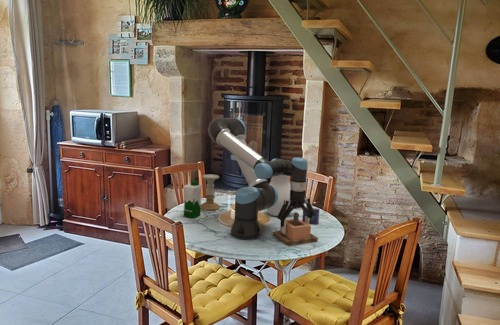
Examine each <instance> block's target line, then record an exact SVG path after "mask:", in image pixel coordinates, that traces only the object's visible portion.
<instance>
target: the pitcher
mask: <svg viewBox="0 0 500 325" xmlns="http://www.w3.org/2000/svg"><path fill="white" fill-rule="evenodd" d="M290 184H291V181H290V176H286V175H279V176H275V177H271V179H270V182H269V185H272V186H274V187H275V188H276V190H277V192H278V199H277V202H276V204H275V205H274V206H272V207H270V208H268V209H266V211H267V212H268V213H269V215H271V216H273V217H274V216H275V217H277V216H278V214H279V212H280V210H281V208H282V206H283V204H284V200H290V190H291V188H290ZM289 205H290V203H289ZM289 205H288V206H289ZM291 207H292V206H291ZM287 208H288V207H287ZM286 210H287V209H286Z"/></svg>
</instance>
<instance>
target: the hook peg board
mask: <svg viewBox="0 0 500 325" xmlns="http://www.w3.org/2000/svg"><path fill="white" fill-rule="evenodd" d="M299 217H300V213H299V212H293V218H292V219H293V225H294V226H298V219H300V218H299ZM272 236H273V237H274V238H275V239H277V240H278V241H280V242H281V243H282V244H284V245H285V246H287V247H291V246H297V245H298V246H299V245H305V244H311V243H317V242H318V240H319V237H317V236H316V235H314V234H312V233H311V232H310V238H303V239H296V240H292V239H290V238H289V237H287V236H286V235H284V234H283V233H281V232H280V230H275V231H272Z"/></svg>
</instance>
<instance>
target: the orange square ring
mask: <svg viewBox="0 0 500 325" xmlns="http://www.w3.org/2000/svg"><path fill="white" fill-rule="evenodd" d="M285 220H286V232H285V234H284V233H283V234H284V235H286V236H287V237H289V238H290V239H292V240H296V239H303V238H310V233H311V228H312V226H311V224H307V223H305V222H303V221H302V219H300V218H299V219H298V226H294V225H293V218H289V219H287V218H286V219H285ZM281 228H282V227H281V226H280V228H279V231H280V232H281ZM281 233H282V232H281Z"/></svg>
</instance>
